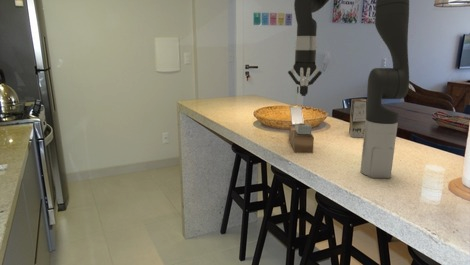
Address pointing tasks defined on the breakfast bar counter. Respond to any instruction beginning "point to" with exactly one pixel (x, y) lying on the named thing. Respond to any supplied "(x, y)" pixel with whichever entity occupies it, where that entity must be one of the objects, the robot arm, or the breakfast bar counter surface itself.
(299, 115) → the lever
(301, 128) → the grey rectangular block
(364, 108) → the coffee box
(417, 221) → the breakfast bar counter surface
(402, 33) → the robot arm
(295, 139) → the body
